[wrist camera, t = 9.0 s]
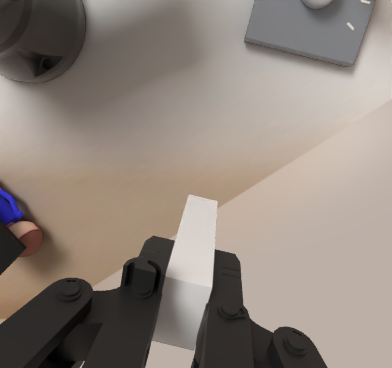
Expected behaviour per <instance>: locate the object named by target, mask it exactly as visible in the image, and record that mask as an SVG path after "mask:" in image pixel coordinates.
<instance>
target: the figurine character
mask: <svg viewBox="0 0 392 368" xmlns="http://www.w3.org/2000/svg"><path fill="white" fill-rule="evenodd" d="M1 195H2V196H3V197H4V198H6V199H7V200H9V202H10V205H11V206H10V205H9V204H8V203H7V202H6V201H5V199H4V198H3V197H2V196H1ZM22 216H23V212H22V211H19V209H18V206H17V204H16V201H15V199H14V197H12V196H11V195H9V194H8V193H7V192H5V191H4V190H2V189H1V188H0V275H1V274H2V273H3V272H4V271H5V270H6V269H7V268H8V267H9V266H10V265H11V264H12V263H13V262H14V261H15V260H16V259H17V258H18V257H26V256H29V255H31V254H33V253H34V252H36V251H37V250H38V249H39V247H40V246H41V243H42V239H43V235H42V232H41V230H40V228H39V227H38V226H37V225H36V224H34V223H32V222H28V221H21V222H18V221H19V219H20V218H21V217H22Z"/></svg>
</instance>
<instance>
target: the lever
mask: <svg viewBox="0 0 392 368" xmlns="http://www.w3.org/2000/svg"><path fill="white" fill-rule="evenodd" d="M302 1H303V3H304V4H305V5H306V6H308V7H309V8H312V9H320V8H323V7H325V6H327V5H328V4H329V3H330V2H331V1H332V0H302Z"/></svg>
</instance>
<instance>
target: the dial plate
mask: <svg viewBox="0 0 392 368" xmlns="http://www.w3.org/2000/svg"><path fill="white" fill-rule="evenodd" d="M374 3H375V0H332V1H331V2H330V3H329V4H328V5H327V6H325V7H323V8H320V9H312V8H309V7H308V6H306V5H305V4H304V3H303V1H302V0H255V2H254V6H253V10H252V14H251V17H250V21H249V25H248V29H247V32H246V36H245V40H244V41H245V42H249V43H253V44H257V45H261V46H265V47H269V48H273V49H277V50H281V51H285V52H289V53H293V54H297V55H301V56H305V57H309V58H313V59H317V60H321V61H325V62H329V63H333V64H337V65H341V66H345V67H348V66H350V65H352V64H354V62H355V59H356V56H357V53H358V50H359V47H360V44H361V41H362V38H363V35H364V32H365V29H366V27H367V24H368V21H369V18H370V15H371V12H372V9H373V6H374Z"/></svg>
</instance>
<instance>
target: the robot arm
mask: <svg viewBox="0 0 392 368" xmlns="http://www.w3.org/2000/svg"><path fill="white" fill-rule="evenodd" d="M84 36H85V13H84V8H83V4H82V1H81V0H0V75H2V76H4V77H7V78H10V79H13V80H18V81H23V82H29V83H39V82H45V81H49V80H52V79H54V78H56V77H58V76H60V75H61V74H63V73H64V72H65V71H66V70H67V69H68V68H69V67H70V66H71V65H72V64H73V63H74V61H75V60H76V58H77V57H78V55H79V53H80V50H81V48H82V45H83V41H84ZM217 204H218V201H215V200H211V199H206V198H202V197H198V196H193V195H188V199H187V202H186V206H185V209H184V213H183V216H182V219H181V223H180V226H179V230H178V233H177V237H176V240H175V241H174V240H169V239H165V238H161V237H157V236H152V237H151V238H149V239H148V240H146V241H145V243H144V246H143V248H142V250H141V252H140V254H139V256H138V257H136V258H133V259H130V260H128V261H127V262H126V263H125V264H124V266H123V273H122V280H121V286H120V287H118V288H117V289H113V290H106V291H93V289H92V287H91V285H90V284H89V283H88V282H86V281H85V280H83V279H79V278H65V279H61V280H58V281H56V282H54V283H52V284H51V285H50V286H48V287H47V288H46V289H45V290H43V291H42V292H41V293H39V294H38V295H37V296H36V297H34V298H33V299H32V300H31V301H29V302H28V303H27V304H26V305H24V306H23V307H22V308H20V309H19V310H18V311H17V312H15V313H14V314H13V315H12V316H10V317H9V318H8V319H6V320H5V321H4V322H3V323H1V324H0V368H79V367H80V366H81V365H82V363H83V361H85V362H84V365H83V366H82V368H145V366H146V362H147V358H148V354H149V350H150V345H151V341H156V342H160V343H164V344H169V345H173V346H177V347H181V348H185V349H189V350H194V349H195V345H196V349H195V355H194V359H193V362H192V365H191V368H327V366H326V364H325V362H324V361H323V359H322V357H321V355H320V354H319V352H318V350H317V348H316V346H315V345H314V344H313V342H312V341H311V340H310V338H309V337H307V336H306V335H305V334H304V333H302V332H300V331H299V330H297V329H295V328H291V327H279V328H278V329H277V330H275V331H274V333H272V332H270V331H268V330H266V329H264V328H263V327H261V326H259V325H258V324H256V323H255V322H253V321H252V320H251V319H250V317H249V314H248V311H247V309H246V308H245V307H244V306H243V295H242V281H241V268H240V261H239V260H238V258H237V257H236V255H235V254H232V253H228V252H224V251H220V250H216V249H215V235H216V219H217Z"/></svg>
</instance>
